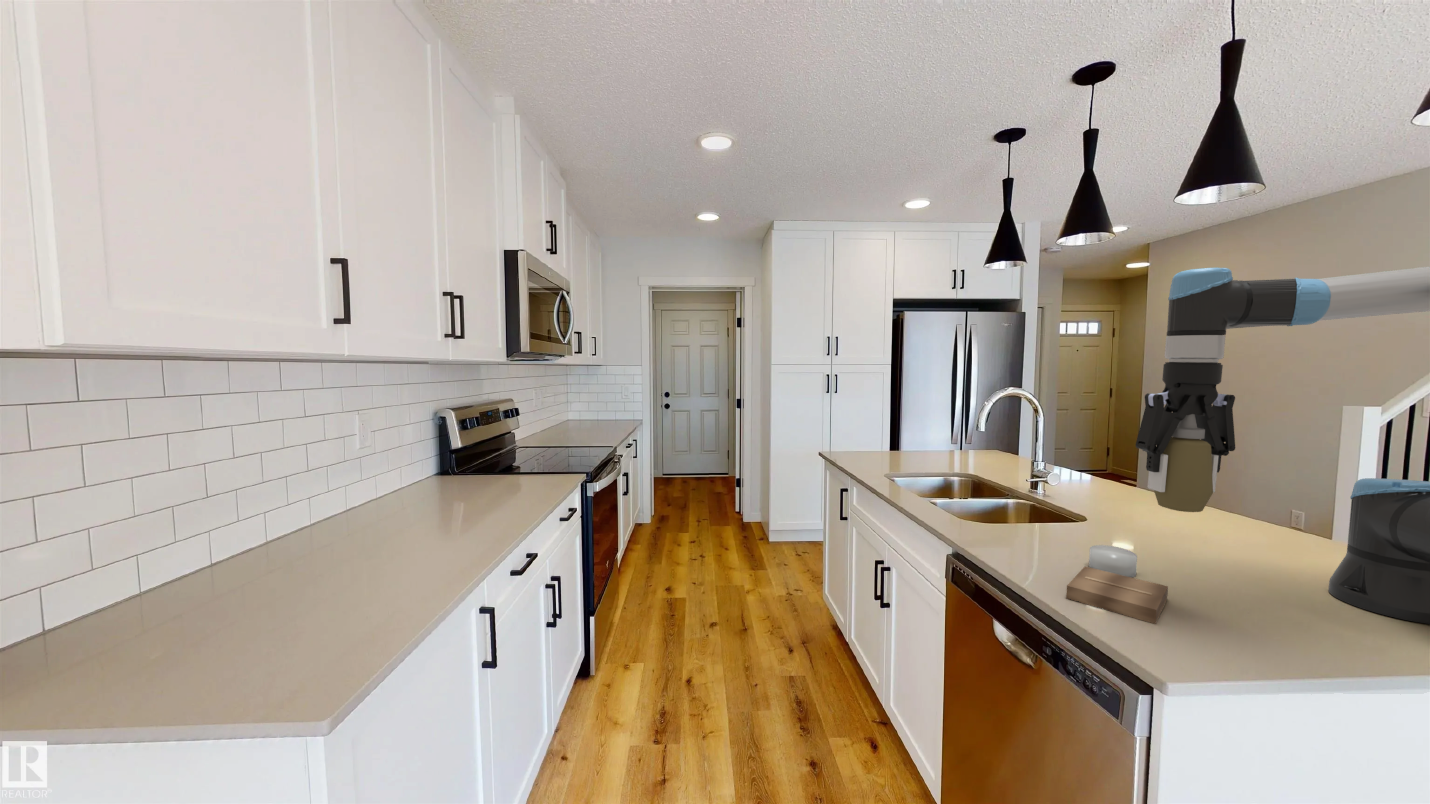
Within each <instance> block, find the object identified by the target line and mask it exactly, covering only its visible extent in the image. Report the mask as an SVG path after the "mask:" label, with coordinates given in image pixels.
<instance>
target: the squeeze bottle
mask: <svg viewBox="0 0 1430 804" xmlns="http://www.w3.org/2000/svg"><path fill="white" fill-rule="evenodd" d="M1204 437H1205V429H1202V428H1197V423H1196V418H1195V414H1191V415H1186V416H1185V418H1184V419H1183V420H1181V421H1180V422H1179V424H1178V426H1177V428H1176V430H1175V432H1174V434H1173V435H1172V437H1171V439H1170V441H1169V443H1168V445H1167V447H1166V449H1165V450H1164V452H1163V454H1164V455H1168V463H1167V474H1166V485H1165V492H1158V491H1155V490H1153V492H1154V495H1155V499H1156V502H1157V504H1158V505H1159V506H1160V507H1161V508H1165V509H1168V510H1171V511H1177V512H1184V513H1201V512H1203V511H1204V509H1205V508H1206V506H1207V504H1208V503H1209V501H1210V499H1211V497H1212V496H1213V495H1214V492H1213V479H1212V455H1211V445H1210V444H1209V443H1208V442H1206V441H1203V440H1201V439H1204Z"/></svg>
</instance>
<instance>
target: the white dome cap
mask: <svg viewBox="0 0 1430 804" xmlns="http://www.w3.org/2000/svg"><path fill="white" fill-rule="evenodd" d="M1088 557H1089V559H1088V567H1090V568H1094V569H1098V570H1102V571H1106V572H1110V573H1115V574H1119V575H1123V576H1127V577H1131V578H1136V576H1137V565H1138V564H1137V563H1138V555H1137V553H1135V552H1133V551H1131V550H1128V549H1126V548H1122V547H1119V546H1115V545H1114V546H1113V545H1104V544H1096V545H1091V546H1090V547H1089V556H1088Z"/></svg>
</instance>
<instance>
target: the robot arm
mask: <svg viewBox="0 0 1430 804" xmlns="http://www.w3.org/2000/svg"><path fill="white" fill-rule="evenodd" d="M1167 301H1168V312H1167V313H1168V314H1167V326H1166V328H1167V329H1166V337H1165V346H1164V348H1165V349H1164V358H1165V359H1167V360H1168V361H1167V362H1165V363H1164V364H1163V367H1162V369H1163V370H1162V378H1161V379H1162V382H1163V383H1164V384H1165V386H1164V388H1163V390H1162V392H1160V393H1159V392H1158V393H1149V392H1148V393H1146V394H1145V395H1144V403H1145V404H1144V405H1145V407H1144V410H1143V415H1142V419H1141V422H1140V426H1139V430H1138V434H1137V437H1136V441H1135V448H1136V449H1139V450H1142V452H1145V453H1146V466H1145V469H1146V471H1148V479H1147V489H1149V490H1152V491H1154V490H1155V491H1158V492H1165V485H1166V474H1167V463H1168V455H1164V454H1163V452H1164V450H1165V449H1166V447H1167V445H1168V443H1169V441H1170V439H1171V437H1172V435H1173V434H1174V432H1175V430H1176V428H1177V426H1178V424H1179V422H1180V421H1181V420H1183V419H1184V418H1185V416H1186V415H1191V414H1195V418H1196V423H1197V428H1202V429H1205V437H1204V439H1201V440H1203V441H1206V442H1208V443H1209V444H1210V445H1211V455H1212V479H1213V493H1216V486H1217V485H1216V484H1217V476H1218V473H1219V472H1220V470H1221V462H1222V456H1225V457H1226V456H1229V454H1230V452H1234V451H1235V450H1236V438H1235V424H1234V412H1233V407H1234V405H1235V401H1236V396H1235V395H1234V394H1227V393H1226V394H1224V393H1219V392H1218V390H1217V386H1218V385H1219V384H1221V382H1222V379H1223V378H1222V376H1223V368H1224V367H1223V366H1224V365H1223V364H1222V363H1221V362H1220V361H1219V360H1222V359H1224V356H1225V345H1226V334H1227V330H1231V329H1243V328H1245V329H1246V328H1257V327H1269V326H1270V327H1271V326H1273V327H1274V326H1276V327H1278V326H1282V327H1283V326H1286V327H1293V326H1308V325H1312V324H1315V323H1317V322H1319V321H1331V320H1340V319H1341V320H1343V319H1355V318H1364V317H1365V318H1367V317H1379V316H1389V315H1400V314H1401V315H1403V314H1410V313H1411V314H1412V313H1414V314H1415V313H1423V312H1430V266H1421V267H1415V268H1414V267H1412V268H1405V269H1396V270H1395V269H1394V270H1388V271H1387V270H1386V271H1378V272H1377V271H1376V272H1369V273H1368V272H1367V273H1360V274H1351V275H1349V274H1348V275H1341V276H1334V277H1333V276H1332V277H1324V278H1299V277H1294V278H1281V279H1279V278H1278V279H1277V278H1275V279H1259V280H1258V279H1252V280H1238V279H1234V277H1233V273H1232V270H1231V269H1230V268H1227V267H1206V268H1205V267H1202V268H1191V269H1187V270H1182V271H1180V272H1177V273H1176V274H1174V275H1173V277H1172V280H1171V283H1170V289H1169V295H1168V300H1167ZM1350 500H1351V504H1350V512H1349V524H1348V525H1349V526H1348V537H1347V547H1346V553H1345V556H1344V557H1343V559H1342V560H1341V561H1340V563H1339V565H1338V566H1337V568H1336V569H1335V570H1334V572H1333V574H1332V575H1331V577H1330V578H1329V580H1328V581H1329V582H1328V593H1330V595H1332V596H1333V597H1334V598H1336V599H1338V600H1340V601H1342V602H1344V603H1346V604H1349V605H1351V606H1354V607H1357V608H1359V609H1363V610H1366V611H1369V612H1372V613H1376V614H1379V615H1383V616H1387V617H1389V618H1390V617H1392V618H1395V619H1400V620H1404V621H1408V622H1414V623H1419V624H1427V625H1428V624H1429V625H1430V481H1429V480H1428V481H1426V480H1414V479H1398V478H1378V477H1377V478H1375V477H1374V478H1373V477H1372V478H1368V477H1367V478H1361V479H1359V480H1357V481H1355V483H1354V485H1353V489H1352V491H1351V495H1350Z"/></svg>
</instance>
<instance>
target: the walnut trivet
mask: <svg viewBox="0 0 1430 804" xmlns="http://www.w3.org/2000/svg"><path fill="white" fill-rule="evenodd" d="M1168 592H1169V586H1167V585H1163V584H1160V583H1156V582H1153V581H1152V582H1151V581H1149V580H1144V579H1139V578H1136V577H1132V578H1131V577H1127V576H1123V575H1119V574H1115V573H1110V572H1106V571H1102V570H1098V569H1094V568H1090V567H1089V566H1084V567H1083V568H1081V570H1080V571H1078V573H1077V574H1076V575H1075V576H1074V577H1073V578H1072V580H1071V581H1069V583H1068V584H1067V585H1066V592H1065V593H1066V595H1065V596H1066V600H1070V599H1071V601H1075V602H1077V601H1079V602H1078V603H1082V604H1085V605H1088V606H1093V607H1096V608H1098V607H1099V608H1098V609H1102V608H1103V609H1102V610H1105V611H1110V612H1112V613H1116V614H1119V615H1122V614H1123V616H1126V617H1130V618H1133V619H1136V620H1140V621H1143V622H1147V623H1150V624H1154V625H1156V624H1157V622H1158V620H1159V618H1160V617H1161V613H1162V611H1163V610H1164V608H1165V605H1166V603H1167V601H1168V596H1169V595H1168V594H1169V593H1168Z"/></svg>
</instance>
